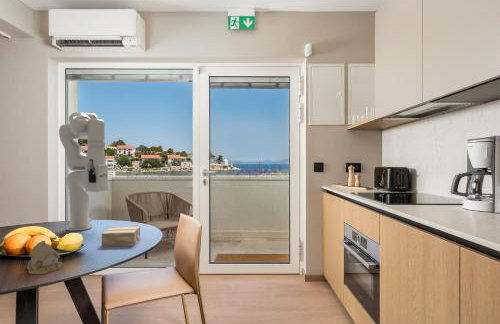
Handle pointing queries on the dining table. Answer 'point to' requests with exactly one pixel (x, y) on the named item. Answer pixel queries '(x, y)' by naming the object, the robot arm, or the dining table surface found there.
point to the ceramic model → (43, 259)
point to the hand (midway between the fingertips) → (96, 181)
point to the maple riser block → (120, 236)
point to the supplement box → (97, 179)
